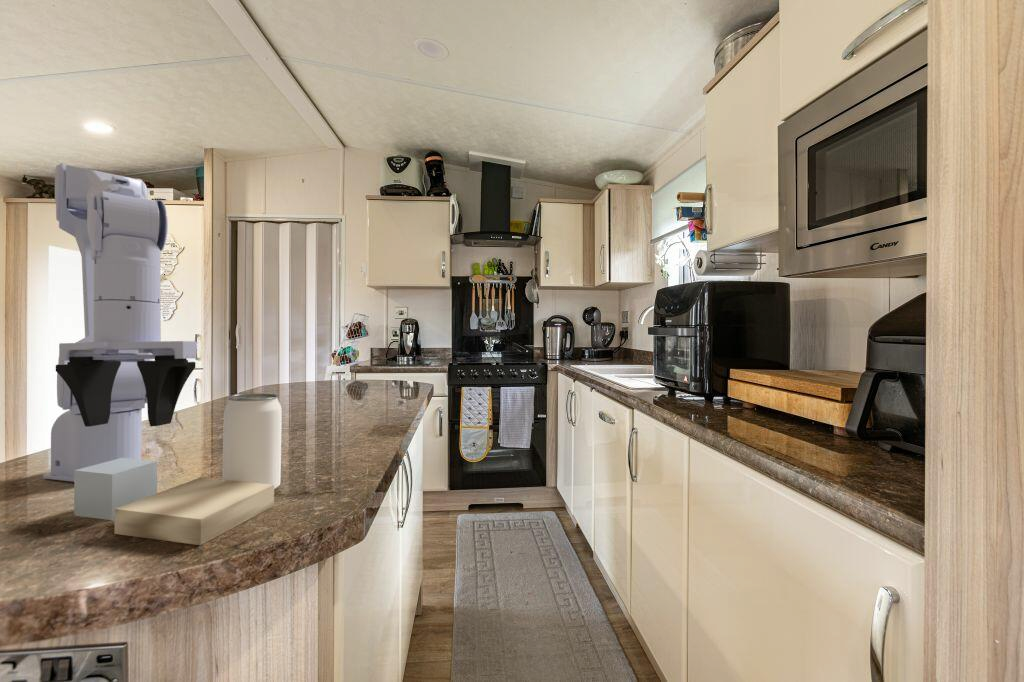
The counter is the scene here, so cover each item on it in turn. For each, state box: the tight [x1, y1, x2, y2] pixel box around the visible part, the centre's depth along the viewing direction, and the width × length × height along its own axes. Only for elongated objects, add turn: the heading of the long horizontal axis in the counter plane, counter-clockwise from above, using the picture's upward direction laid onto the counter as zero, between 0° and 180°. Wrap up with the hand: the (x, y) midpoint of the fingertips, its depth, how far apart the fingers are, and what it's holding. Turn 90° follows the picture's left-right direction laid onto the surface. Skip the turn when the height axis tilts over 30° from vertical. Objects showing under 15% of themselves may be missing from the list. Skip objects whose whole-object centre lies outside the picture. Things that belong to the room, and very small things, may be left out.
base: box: [114, 477, 275, 546], centre depth 49 cm, size 10×10×2 cm
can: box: [222, 392, 283, 491], centre depth 58 cm, size 6×6×12 cm
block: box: [73, 458, 158, 521], centre depth 51 cm, size 5×5×5 cm
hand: (128, 425), depth 50 cm, fingers open, 7 cm apart
